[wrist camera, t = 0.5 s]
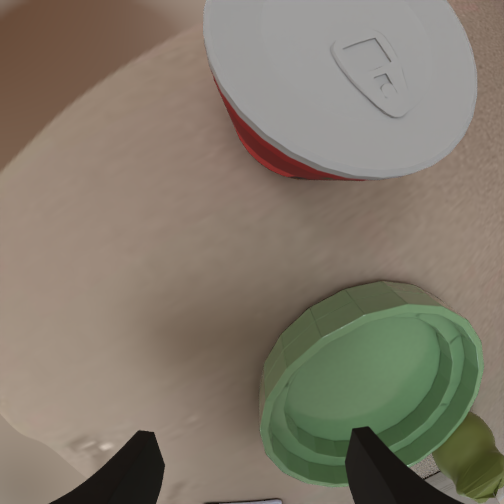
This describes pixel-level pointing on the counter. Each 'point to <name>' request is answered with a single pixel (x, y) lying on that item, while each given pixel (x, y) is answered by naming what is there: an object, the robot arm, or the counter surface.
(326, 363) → the bowl
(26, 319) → the counter surface
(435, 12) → the canned food
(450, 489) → the white product box
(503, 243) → the counter surface
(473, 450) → the pear
